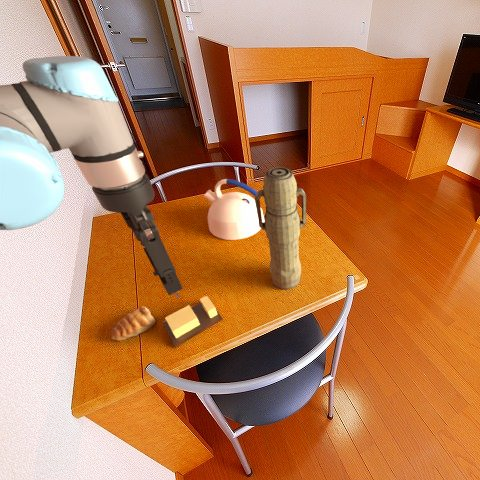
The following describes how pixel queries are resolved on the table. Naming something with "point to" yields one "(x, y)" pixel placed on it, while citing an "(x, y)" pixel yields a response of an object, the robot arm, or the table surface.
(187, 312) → the butter block
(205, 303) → the butter slice
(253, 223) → the kettle
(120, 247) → the table surface
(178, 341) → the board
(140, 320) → the pastry
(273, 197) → the thermos
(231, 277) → the table surface
